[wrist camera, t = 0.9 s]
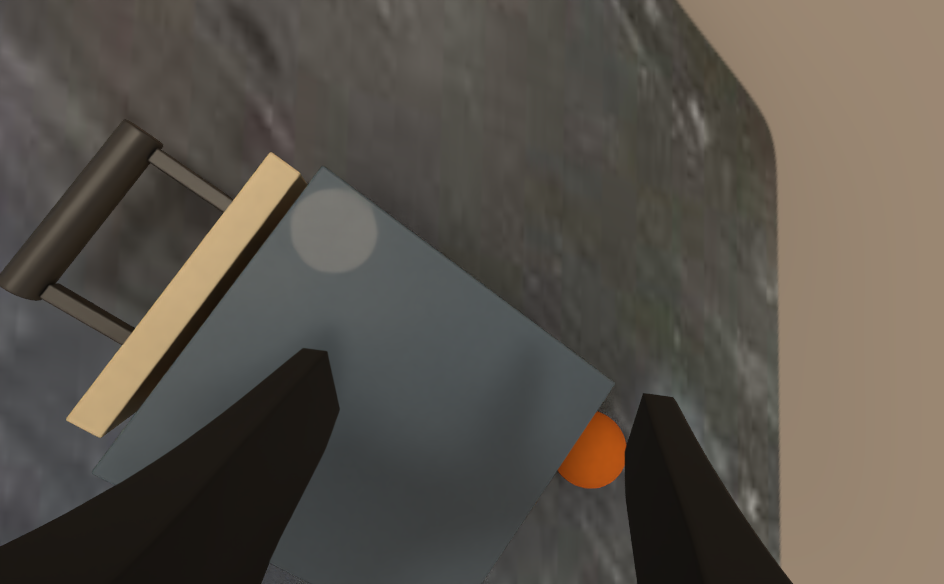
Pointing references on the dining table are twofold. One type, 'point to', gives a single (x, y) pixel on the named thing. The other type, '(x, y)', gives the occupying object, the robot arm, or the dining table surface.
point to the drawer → (187, 293)
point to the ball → (596, 454)
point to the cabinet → (383, 396)
